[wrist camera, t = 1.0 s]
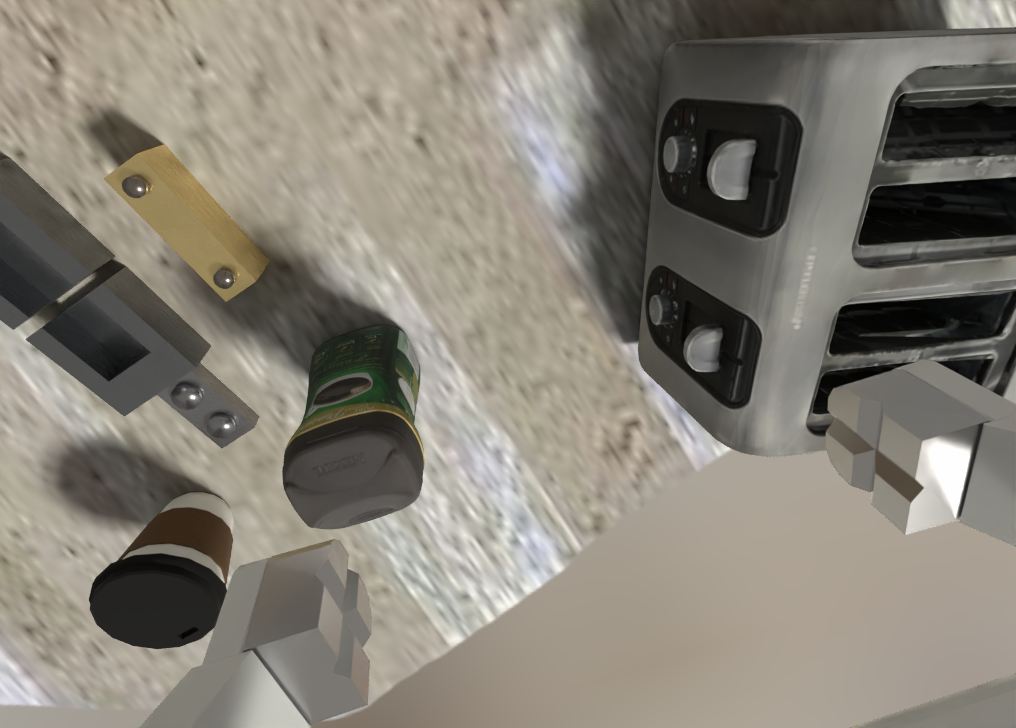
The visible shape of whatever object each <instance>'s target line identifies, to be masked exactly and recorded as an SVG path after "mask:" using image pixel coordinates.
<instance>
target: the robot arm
mask: <svg viewBox="0 0 1016 728" xmlns="http://www.w3.org/2000/svg"><path fill="white" fill-rule="evenodd" d="M827 410H828V411H829V412H830V413H831V414H832V415H833V416H834V417H835V419H834V421H833V422H832V423H831V425H830V426H829V428H828V429H827V431H826V450H827V453H828V456H829V459H830V461H831V464H832V465H833V467H834V468H835V469H836V471H837V472H838V474H839V475H840V476H841V477H842V478H843V479H844V480H845V481H846V482H847V483H848V484H850V485H851V486H853V487H857V488H859V489H862V490H865V491H868V492H870V495H871V504H872V505H873V506H874V507H875V508H876V509H877V510H878V511H879V512H880V513H881V514H883V515H884V516H885V517H886V518H887V519H888V520H889V521H890V522H891V523H892V524H894V525H895V526H896V527H897V528H898V529H899V530H900V531H902V533H904V534H905V535H907V534H911V533H914V532H917V531H921V530H924V529H928V528H932V527H935V526H939V525H942V524H946V523H949V522H953V521H956V520H960V523H962V524H964V525H966V526H969V527H971V528H973V529H976V530H979V531H980V532H983V533H986V534H988V535H990V536H992V537H995V538H997V539H1000V540H1002V541H1004V542H1006V543H1009V544H1011V545H1014V546H1016V404H1014V403H1012V402H1011V401H1009V400H1007V399H1005V398H1003V397H1001V396H999V395H997V394H995V393H994V392H992V391H990V390H988V389H986V388H984V387H982V386H980V385H979V384H977V383H975V382H973V381H971V380H969V379H967V378H965V377H963V376H962V375H960V374H958V373H956V372H954V371H952V370H950V369H948V368H947V367H945V366H943V365H941V364H939V363H937V362H934V361H929V360H920V361H917V362H914V363H911V364H908V365H905V366H902V367H899V368H895V369H893V370H892V371H888V372H884V373H881V374H878V375H875V376H872V377H868V378H865V379H862V380H859V381H855V382H852V383H849V384H846V385H843V386H839V387H836V388H833V390H832V392H831V394H830V395H829V398H828V409H827ZM348 557H349V555H348V553H347V551H346V550H345V548H344V546H343V545H342V543H341V541H339V540H336V539H333V540H329V541H326V542H322V543H318V544H315V545H311V546H308V547H304V548H300V549H297V550H293V551H289V552H286V553H282V554H279V555H275V556H272V557H271V558H267V559H263V560H259V561H256V562H252V563H249V564H245V565H241V566H240V567H239V568H238V569H237V570H236V571H235V572H234V573H233V575H232V578H231V581H230V584H229V587H228V590H227V593H226V596H225V599H224V602H223V605H222V608H221V611H220V614H219V617H218V620H217V622H216V625H215V628H214V631H213V634H212V637H211V640H210V643H209V646H208V649H207V652H206V655H205V658H204V661H203V664H202V665H201V666H198V667H195V668H192V669H191V670H190V671H189V672H188V673H187V674H186V675H185V677H184V678H183V679H182V680H181V681H180V682H179V683H178V685H177V686H176V687H175V688H174V689H173V690H172V691H171V692H170V694H169V695H168V696H167V697H166V698H165V699H164V700H163V701H162V703H161V704H160V705H159V706H158V707H157V708H156V709H155V711H154V712H153V713H152V714H151V715H150V716H149V717H148V718H147V720H146V721H145V722H144V723H143V724H142V725H141V726H140V728H311V727H310V725H311V724H314V723H317V722H320V721H323V720H325V719H328V718H331V717H334V716H337V715H340V714H343V713H346V712H349V711H351V710H354V709H357V708H360V707H363V706H366V705H368V689H369V670H370V661H369V659H368V657H367V655H366V654H365V652H364V650H363V649H362V648H363V646H364V645H365V643H366V642H367V640H368V639H369V637H370V636H371V627H372V615H371V608H370V601H369V596H368V593H367V590H366V587H365V585H364V583H363V581H362V579H361V577H360V575H359V574H358V573H356V572H353V571H351V570H349V569H347V568H348ZM851 728H1016V673H1015V674H1012V675H1009V676H1006V677H1003V678H1000V679H996V680H994V681H990V682H987V683H985V684H981V685H978V686H975V687H972V688H969V689H966V690H963V691H960V692H957V693H954V694H951V695H948V696H945V697H942V698H939V699H936V700H933V701H930V702H927V703H924V704H921V705H918V706H915V707H912V708H909V709H905V710H903V711H899V712H896V713H893V714H890V715H887V716H884V717H881V718H879V719H875V720H872V721H869V722H866V723H863V724H860V725H857V726H854V727H851Z"/></svg>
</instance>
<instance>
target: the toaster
mask: <svg viewBox="0 0 1016 728" xmlns="http://www.w3.org/2000/svg"><path fill="white" fill-rule="evenodd" d="M638 355H639V361H640V364H641V366H642V368H643V369H644V371H645V372H646V373H647V374H648V375H649V376H650V377H651V378H652V379H653V380H654V381H655V382H656V383H657V384H659V385H660V386H661V387H662V388H663V389H664V390H665V391H666V392H667V393H668V394H669V395H670V396H672V397H673V398H674V399H675V401H677V402H678V403H679V404H680V405H681V406H682V407H683V408H684V409H685V410H686V411H687V412H688V413H689V414H690V415H691V416H692V417H693V418H694V419H695V420H696V421H697V422H698V423H699V424H700V425H701V426H702V427H703V428H704V429H705V430H706V431H707V432H709V433H710V434H711V435H712V436H713V437H714V438H715V439H716V440H718V441H719V442H721V443H723V444H724V445H726V446H727V447H729V448H731V449H734V450H736V451H739V452H741V453H745V454H750V455H757V456H766V457H779V456H790V455H800V454H808V453H816V452H822V451H827V450H826V431H827V429H828V428H829V426H830V425H831V423H832V422H833V421H834V419H835V417H834V416H833V415H832V414H831V413H830V412H829V411H828V410H827V409H828V398H829V395H830V394H831V392H832V390H833V388H836V387H839V386H843V385H846V384H849V383H852V382H855V381H859V380H862V379H865V378H868V377H872V376H875V375H878V374H881V373H884V372H888V371H892V370H893V369H895V368H899V367H902V366H905V365H908V364H911V363H914V362H917V361H920V360H929V361H934V362H937V363H939V364H941V365H943V366H945V367H947V368H948V369H950V370H952V371H954V372H956V373H958V374H960V375H962V376H963V377H965V378H967V379H969V380H971V381H973V382H975V383H977V384H979V385H980V386H982V387H984V388H986V389H988V390H990V391H992V392H994V393H995V394H997V395H999V396H1001V397H1003V398H1005V399H1007V400H1009V401H1011V402H1012V403H1014V404H1016V27H1014V28H980V29H936V30H909V31H884V32H857V33H828V34H806V35H784V36H763V37H744V38H724V39H704V40H683V41H678V42H673V43H672V44H671V45H670V46H669V47H668V49H667V51H666V53H665V56H664V60H663V65H662V71H661V83H660V94H659V106H658V119H657V131H656V143H655V157H654V166H653V178H652V189H651V201H650V213H649V226H648V237H647V250H646V264H645V275H644V289H643V299H642V309H641V320H640V332H639V344H638Z"/></svg>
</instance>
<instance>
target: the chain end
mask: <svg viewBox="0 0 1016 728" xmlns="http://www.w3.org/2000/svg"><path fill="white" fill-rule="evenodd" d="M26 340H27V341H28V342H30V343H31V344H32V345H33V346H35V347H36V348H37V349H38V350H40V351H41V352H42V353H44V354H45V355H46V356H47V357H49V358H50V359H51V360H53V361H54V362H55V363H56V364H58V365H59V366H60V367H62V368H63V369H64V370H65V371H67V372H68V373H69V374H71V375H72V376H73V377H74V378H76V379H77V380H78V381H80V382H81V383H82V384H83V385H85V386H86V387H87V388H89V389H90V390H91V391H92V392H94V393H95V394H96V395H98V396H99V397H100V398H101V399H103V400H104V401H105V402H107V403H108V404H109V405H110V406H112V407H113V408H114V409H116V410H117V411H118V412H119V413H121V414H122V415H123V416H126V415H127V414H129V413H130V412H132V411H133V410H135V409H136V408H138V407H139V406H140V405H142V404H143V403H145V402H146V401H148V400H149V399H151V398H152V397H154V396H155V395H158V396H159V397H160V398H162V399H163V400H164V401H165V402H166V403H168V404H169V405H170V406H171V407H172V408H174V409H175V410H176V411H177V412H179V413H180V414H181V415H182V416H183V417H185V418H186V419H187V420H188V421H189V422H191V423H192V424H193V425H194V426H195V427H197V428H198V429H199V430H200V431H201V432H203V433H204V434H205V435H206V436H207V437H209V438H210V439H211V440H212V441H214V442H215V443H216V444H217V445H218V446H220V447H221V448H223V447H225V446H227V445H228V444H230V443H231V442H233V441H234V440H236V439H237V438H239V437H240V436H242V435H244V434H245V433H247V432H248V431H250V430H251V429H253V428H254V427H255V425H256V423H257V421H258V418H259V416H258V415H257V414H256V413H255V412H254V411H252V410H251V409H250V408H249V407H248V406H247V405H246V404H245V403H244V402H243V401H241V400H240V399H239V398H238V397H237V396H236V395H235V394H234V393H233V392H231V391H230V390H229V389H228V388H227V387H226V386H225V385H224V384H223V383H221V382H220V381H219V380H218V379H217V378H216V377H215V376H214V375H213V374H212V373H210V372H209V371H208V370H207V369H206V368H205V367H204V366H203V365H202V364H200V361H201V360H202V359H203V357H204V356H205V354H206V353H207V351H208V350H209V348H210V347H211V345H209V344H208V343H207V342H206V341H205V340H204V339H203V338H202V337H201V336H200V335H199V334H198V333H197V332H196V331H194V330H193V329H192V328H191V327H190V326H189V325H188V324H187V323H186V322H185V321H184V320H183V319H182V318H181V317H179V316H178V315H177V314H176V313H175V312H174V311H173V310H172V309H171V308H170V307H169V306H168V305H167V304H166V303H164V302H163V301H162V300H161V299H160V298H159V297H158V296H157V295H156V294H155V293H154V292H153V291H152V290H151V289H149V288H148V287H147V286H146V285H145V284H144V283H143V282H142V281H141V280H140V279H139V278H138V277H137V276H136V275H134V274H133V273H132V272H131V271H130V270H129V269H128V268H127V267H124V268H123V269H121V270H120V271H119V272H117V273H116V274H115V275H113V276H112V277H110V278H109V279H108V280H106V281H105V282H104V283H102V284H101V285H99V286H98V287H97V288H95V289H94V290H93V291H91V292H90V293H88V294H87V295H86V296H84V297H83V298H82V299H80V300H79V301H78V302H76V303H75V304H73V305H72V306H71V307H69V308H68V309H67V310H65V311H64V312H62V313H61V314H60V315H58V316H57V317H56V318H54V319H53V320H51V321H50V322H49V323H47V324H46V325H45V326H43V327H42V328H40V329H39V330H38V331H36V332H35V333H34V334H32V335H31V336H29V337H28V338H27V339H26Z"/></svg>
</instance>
